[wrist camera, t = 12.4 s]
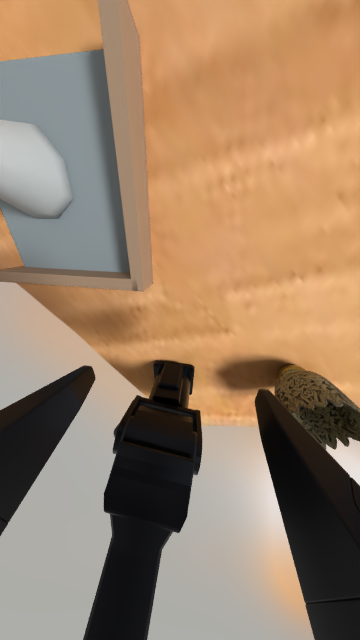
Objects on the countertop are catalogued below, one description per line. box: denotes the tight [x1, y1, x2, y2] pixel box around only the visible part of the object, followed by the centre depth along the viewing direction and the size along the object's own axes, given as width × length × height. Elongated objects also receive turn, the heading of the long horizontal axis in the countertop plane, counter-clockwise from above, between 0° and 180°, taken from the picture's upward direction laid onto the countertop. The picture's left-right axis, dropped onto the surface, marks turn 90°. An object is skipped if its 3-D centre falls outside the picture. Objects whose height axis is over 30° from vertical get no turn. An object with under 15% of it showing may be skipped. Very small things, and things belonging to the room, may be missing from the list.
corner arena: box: [0, 0, 153, 291], centre depth 15 cm, size 18×18×4 cm
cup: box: [275, 365, 360, 450], centre depth 19 cm, size 8×7×8 cm
